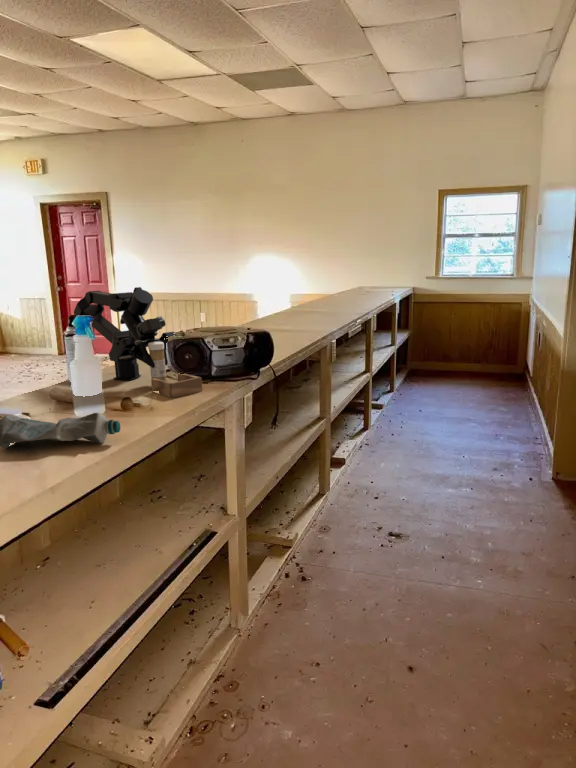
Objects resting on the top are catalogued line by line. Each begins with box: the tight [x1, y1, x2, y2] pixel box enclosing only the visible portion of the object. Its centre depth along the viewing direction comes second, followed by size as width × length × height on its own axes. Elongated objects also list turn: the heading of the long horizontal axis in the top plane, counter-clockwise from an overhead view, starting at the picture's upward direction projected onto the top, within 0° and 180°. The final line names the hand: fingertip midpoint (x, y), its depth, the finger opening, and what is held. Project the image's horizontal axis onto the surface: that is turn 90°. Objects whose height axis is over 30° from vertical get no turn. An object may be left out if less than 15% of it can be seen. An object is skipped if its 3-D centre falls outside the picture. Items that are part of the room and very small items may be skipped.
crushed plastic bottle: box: [0, 412, 121, 449], centre depth 118 cm, size 13×7×25 cm
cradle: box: [150, 372, 203, 399], centre depth 161 cm, size 10×10×4 cm
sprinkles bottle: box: [147, 342, 167, 381], centre depth 166 cm, size 5×5×13 cm
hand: (160, 365), depth 165 cm, fingers closed on sprinkles bottle, 4 cm apart
